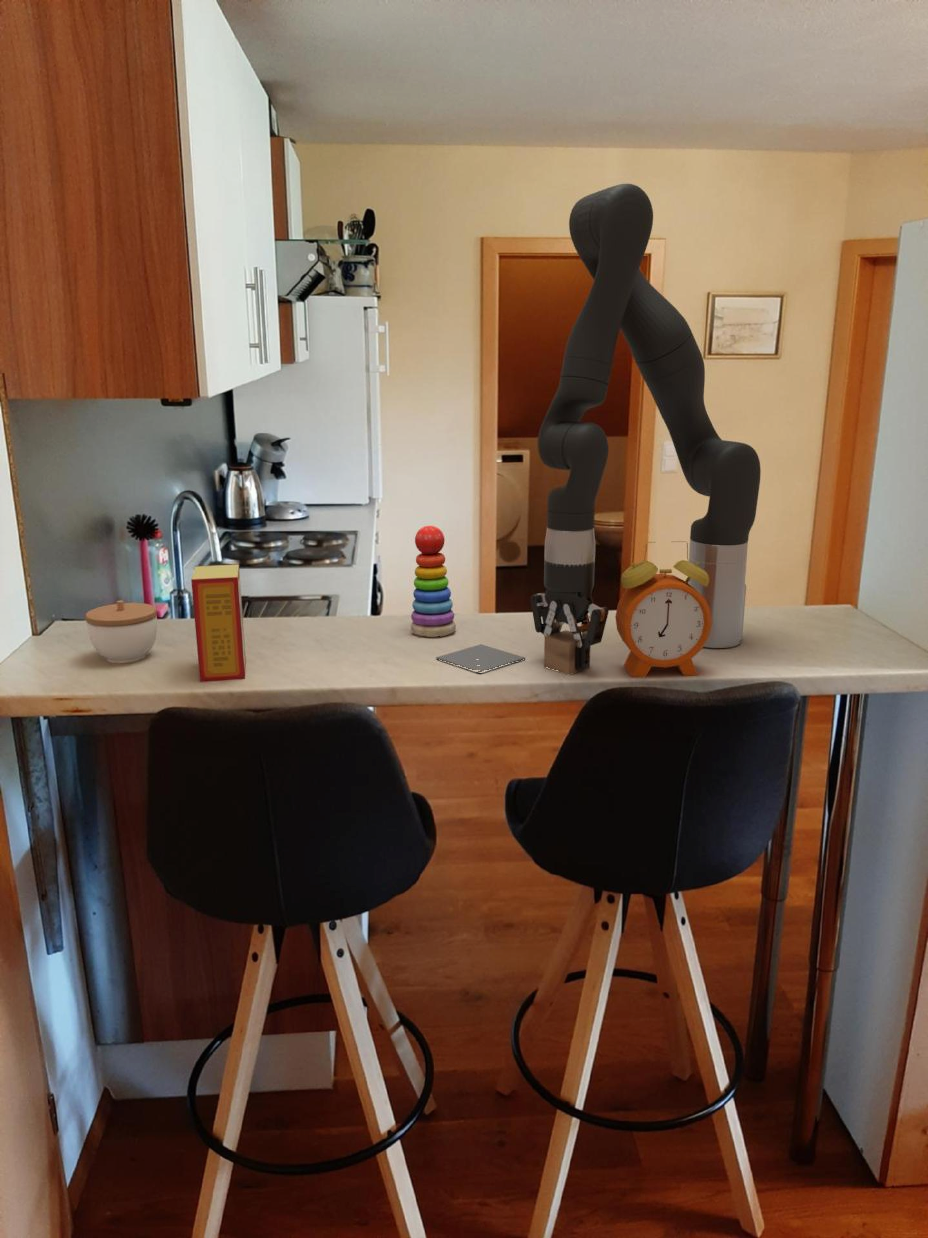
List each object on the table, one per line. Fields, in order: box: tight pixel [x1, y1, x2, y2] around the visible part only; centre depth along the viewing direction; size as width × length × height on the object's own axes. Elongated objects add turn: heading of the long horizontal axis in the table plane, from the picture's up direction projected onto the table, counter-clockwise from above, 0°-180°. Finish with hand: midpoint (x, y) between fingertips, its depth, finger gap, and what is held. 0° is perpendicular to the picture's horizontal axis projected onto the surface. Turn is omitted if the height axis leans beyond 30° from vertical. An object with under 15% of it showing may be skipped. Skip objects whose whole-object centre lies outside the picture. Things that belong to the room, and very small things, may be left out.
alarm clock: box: [614, 540, 711, 678], centre depth 140 cm, size 13×6×20 cm, turn 94°
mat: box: [435, 643, 526, 672], centre depth 148 cm, size 10×10×1 cm
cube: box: [543, 629, 591, 675], centre depth 144 cm, size 5×5×5 cm
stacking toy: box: [410, 525, 457, 638], centre depth 161 cm, size 8×8×19 cm
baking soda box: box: [191, 563, 247, 683], centre depth 142 cm, size 10×6×16 cm
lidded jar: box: [84, 600, 158, 664], centre depth 150 cm, size 11×11×9 cm
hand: (566, 664), depth 145 cm, fingers closed on cube, 5 cm apart
